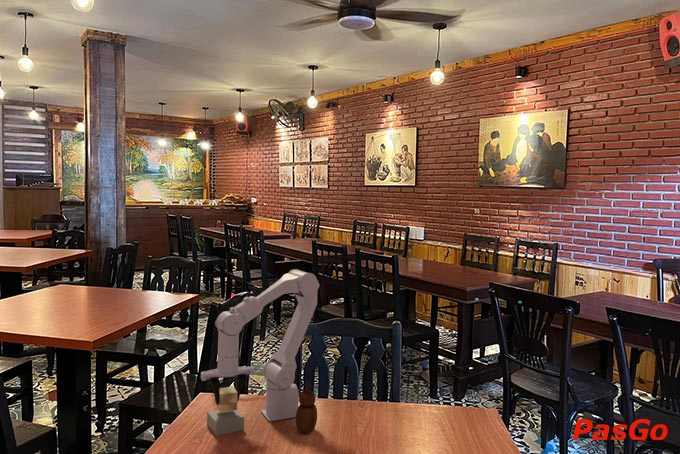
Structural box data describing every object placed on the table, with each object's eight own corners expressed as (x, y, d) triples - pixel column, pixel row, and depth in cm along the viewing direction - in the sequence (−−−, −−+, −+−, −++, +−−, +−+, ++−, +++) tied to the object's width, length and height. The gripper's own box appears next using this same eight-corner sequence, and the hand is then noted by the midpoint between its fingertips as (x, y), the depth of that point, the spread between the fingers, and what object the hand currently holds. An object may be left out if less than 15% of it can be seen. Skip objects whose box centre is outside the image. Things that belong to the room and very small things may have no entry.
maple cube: (232, 403, 148) (233, 386, 148) (237, 409, 144) (237, 392, 144) (216, 405, 146) (216, 388, 146) (220, 412, 142) (220, 394, 142)
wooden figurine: (313, 437, 140) (314, 383, 140) (292, 434, 141) (294, 381, 141) (318, 426, 147) (320, 375, 146) (299, 424, 148) (301, 373, 147)
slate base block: (233, 419, 150) (233, 406, 150) (243, 430, 143) (244, 416, 143) (206, 425, 146) (207, 411, 146) (215, 436, 139) (216, 422, 139)
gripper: (249, 348, 151) (247, 393, 152) (199, 353, 145) (198, 400, 145) (256, 355, 145) (254, 402, 145) (204, 360, 138) (203, 409, 139)
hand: (226, 401), depth 145 cm, fingers closed on maple cube, 5 cm apart
